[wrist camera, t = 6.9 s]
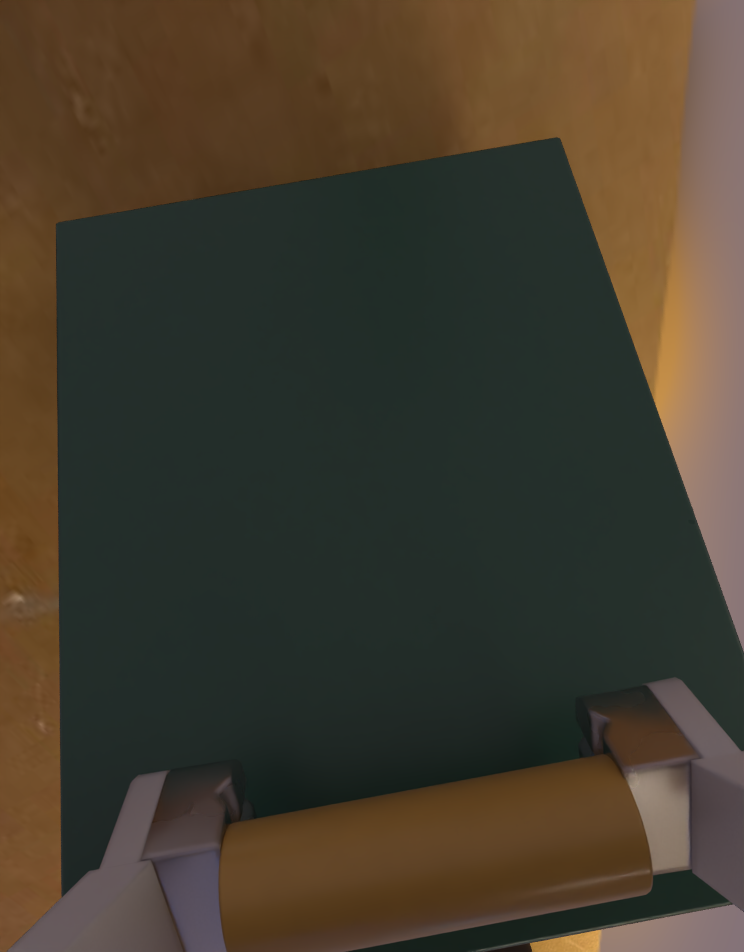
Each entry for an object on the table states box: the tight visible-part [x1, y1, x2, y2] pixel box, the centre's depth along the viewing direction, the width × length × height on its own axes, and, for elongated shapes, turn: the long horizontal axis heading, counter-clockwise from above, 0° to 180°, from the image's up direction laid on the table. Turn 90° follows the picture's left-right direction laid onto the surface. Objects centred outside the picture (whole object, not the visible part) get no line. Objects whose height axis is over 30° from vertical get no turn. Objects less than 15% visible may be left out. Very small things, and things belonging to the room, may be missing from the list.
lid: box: [56, 137, 744, 952], centre depth 12 cm, size 16×13×5 cm
